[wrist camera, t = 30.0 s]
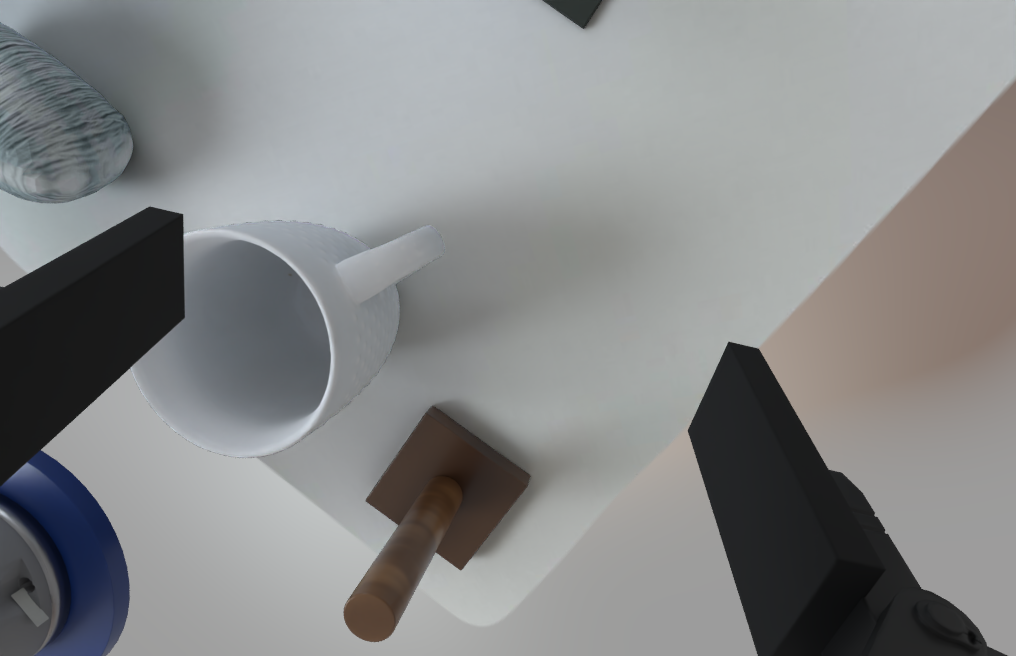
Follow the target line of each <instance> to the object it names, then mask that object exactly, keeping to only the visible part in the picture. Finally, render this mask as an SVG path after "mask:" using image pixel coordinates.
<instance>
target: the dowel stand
mask: <svg viewBox="0 0 1016 656" xmlns="http://www.w3.org/2000/svg"><path fill="white" fill-rule="evenodd" d="M530 477H531V476H530V475H529V474H527V473H526V472H524V471H523V470H522V469H520V468H519V467H517V466H516V465H515V464H513V463H512V462H510V461H509V460H508V459H506V458H505V457H504V456H502V455H501V454H499V453H498V452H497V451H495V450H494V449H492V448H491V447H490V446H488V445H487V444H486V443H484V442H483V441H481V440H480V439H479V438H477V437H476V436H474V435H473V434H472V433H470V432H469V431H468V430H466V429H465V428H463V427H462V426H461V425H459V424H458V423H456V422H455V421H454V420H452V419H451V418H450V417H448V416H447V415H445V414H444V413H443V412H441V411H440V410H438V409H437V408H436V407H434V406H432V407H431V408H430V409H429V410H428V411H427V412H426V413H425V415H424V416H423V418H422V419H421V421H420V422H419V424H418V425H417V426H416V428H415V429H414V431H413V432H412V434H411V435H410V437H409V438H408V440H407V441H406V442H405V444H404V445H403V447H402V448H401V450H400V451H399V453H398V454H397V455H396V457H395V458H394V460H393V461H392V463H391V464H390V466H389V467H388V468H387V470H386V471H385V473H384V474H383V476H382V477H381V479H380V480H379V481H378V483H377V484H376V486H375V487H374V489H373V490H372V492H371V493H370V494H369V496H368V497H367V499H366V502H367V503H369V504H370V505H372V506H373V507H374V508H376V509H377V510H378V511H380V512H381V513H383V514H384V515H385V516H387V517H388V518H389V519H391V520H392V521H394V522H395V523H396V524H398V527H397V528H396V530H395V531H394V533H393V534H392V536H391V537H390V539H389V540H388V542H387V543H386V545H385V546H384V548H383V549H382V551H381V552H380V553H379V555H378V556H377V558H376V560H375V561H374V562H373V564H372V565H371V567H370V568H369V570H368V571H367V573H366V574H365V576H364V577H363V579H362V580H361V582H360V583H359V584H358V586H357V587H356V589H355V590H354V592H353V594H352V595H351V596H350V598H349V599H348V601H347V603H346V604H345V607H344V619H345V623H346V625H347V626H348V628H349V629H350V631H351V632H352V633H353V634H355V635H356V636H357V637H359V638H361V639H363V640H365V641H370V642H379V641H382V640H385V639H386V638H388V637H389V636H390V635H391V634H392V633H393V631H394V630H395V628H396V626H397V624H398V622H399V620H400V618H401V616H402V614H403V613H404V611H405V609H406V607H407V605H408V603H409V601H410V599H411V598H412V596H413V594H414V592H415V590H416V588H417V586H418V584H419V582H420V581H421V579H422V577H423V575H424V573H425V571H426V569H427V567H428V565H429V564H430V562H431V560H432V558H433V556H434V554H435V552H436V553H437V554H439V555H440V556H442V557H443V558H444V559H446V560H447V561H448V562H450V563H451V564H453V565H454V566H455V567H457V568H458V569H459V570H462V569H463V568H464V566H465V565H466V564H467V563H468V561H469V560H470V559H471V558H472V556H473V555H474V554H475V552H476V551H477V550H478V549H479V547H480V546H481V545H482V544H483V542H484V541H485V540H486V538H487V537H488V536H489V535H490V533H491V532H492V531H493V530H494V528H495V527H496V526H497V524H498V523H499V522H500V521H501V519H502V518H503V517H504V516H505V514H506V513H507V512H508V511H509V509H510V508H511V507H512V505H513V504H514V503H515V502H516V500H517V499H518V498H519V497H520V495H521V494H522V493H523V491H524V490H525V489H526V488H527V486H528V483H529V480H530Z"/></svg>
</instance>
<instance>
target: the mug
mask: <svg viewBox="0 0 1016 656" xmlns="http://www.w3.org/2000/svg"><path fill="white" fill-rule="evenodd" d="M444 253H445V245H444V242H443V240H442V237H441V235H440V234H439V232H438V231H437V230H436V229H435V228H434V227H433V226H430V225H427V226H424V227H421V228H419V229H417V230H415V231H412V232H410V233H408V234H406V235H403V236H401V237H399V238H397V239H395V240H392V241H390V242H388V243H386V244H383V245H380V246H378V247H375V248H373V249H370V248H369V247H368V246H367V245H366V244H365V243H362V242H360V241H359V240H358V239H357V238H355V237H352V236H350V235H348V234H347V233H346V232H343V231H338V230H337V229H335V228H330V227H326V226H324V225H322V224H312V223H309V222H297V221H282V220H277V221H273V222H271V221H261V222H256V223H251V222H246V223H243V224H231V225H228V226H222V227H214V228H207V229H200V230H196V231H192V232H188V233H185V234H184V291H185V318H184V319H183V320H182V321H181V322H180V323H179V324H178V325H177V326H175V327H174V328H173V329H172V330H171V331H170V332H169V333H168V334H167V335H166V336H164V337H163V338H162V339H161V340H160V341H159V342H158V343H157V344H156V345H155V346H154V347H152V348H151V349H150V350H149V351H148V352H147V353H146V354H145V355H144V356H143V357H142V358H140V359H139V360H138V361H137V362H136V363H135V364H134V365H133V366H132V367H131V368H130V369H131V372H132V374H133V377H134V379H135V381H136V383H137V385H138V387H139V389H140V391H141V393H142V394H143V396H144V397H145V399H146V400H147V402H148V403H149V404H150V406H151V407H152V409H153V410H154V411H155V412H156V413H157V414H158V416H159V417H160V418H161V419H162V420H163V421H164V422H165V423H166V424H167V425H168V426H169V427H171V428H172V429H173V430H174V431H175V432H176V433H178V434H179V435H181V436H182V437H183V438H185V439H186V440H188V441H190V442H191V443H193V444H195V445H196V446H199V447H200V448H203V449H206V450H208V451H210V452H214V453H217V454H220V455H224V456H230V457H237V458H254V457H262V456H268V455H271V454H275V453H278V452H281V451H283V450H285V449H288V448H290V447H291V446H293V445H295V444H297V443H298V442H300V441H301V440H302V439H304V438H305V437H306V436H308V435H309V434H310V433H312V432H313V431H314V430H316V429H317V428H318V427H320V426H322V425H324V424H325V423H326V422H327V420H328V419H329V418H331V417H332V416H334V415H336V414H337V413H338V412H339V411H340V410H341V409H342V408H343V407H344V406H346V405H348V404H349V403H350V402H351V400H352V399H353V398H354V397H356V396H357V395H359V394H360V392H361V391H362V389H363V388H364V387H366V386H368V385H369V384H370V382H371V380H372V378H373V377H375V376H376V375H377V373H378V372H379V370H380V367H381V366H382V365H383V364H384V363H385V361H386V358H387V356H388V355H389V354H390V352H391V350H392V345H393V343H394V342H395V339H396V333H397V332H398V323H399V319H400V315H399V313H400V304H399V295H398V291H397V288H396V284H397V283H399V282H400V281H402V280H403V279H405V278H406V277H408V276H409V275H411V274H413V273H414V272H416V271H418V270H420V269H421V268H423V267H424V266H425V265H427V264H428V263H430V262H432V261H434V260H436V259H437V258H439V257H441V256H442V255H443V254H444Z"/></svg>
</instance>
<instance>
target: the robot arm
mask: <svg viewBox="0 0 1016 656" xmlns="http://www.w3.org/2000/svg"><path fill="white" fill-rule="evenodd" d="M184 318H185V291H184V232H183V214H179V213H175V212H171V211H167V210H162V209H158V208H154V207H148V208H146V209H144V210H143V211H141V212H139V213H137V214H135V215H134V216H132V217H130V218H128V219H126V220H125V221H123V222H121V223H119V224H117V225H116V226H114V227H112V228H110V229H108V230H107V231H105V232H103V233H101V234H99V235H98V236H96V237H94V238H92V239H90V240H89V241H87V242H85V243H83V244H81V245H80V246H78V247H76V248H74V249H72V250H71V251H69V252H67V253H65V254H63V255H62V256H60V257H58V258H56V259H54V260H53V261H51V262H49V263H47V264H45V265H44V266H42V267H40V268H38V269H36V270H35V271H33V272H31V273H29V274H27V275H26V276H24V277H22V278H20V279H18V280H17V281H15V282H13V283H11V284H9V285H8V286H6V287H0V487H1V486H2V485H3V484H4V483H5V482H6V481H7V480H8V479H9V478H10V477H12V476H13V475H14V474H15V473H16V472H17V471H18V470H19V469H20V468H21V467H22V466H24V465H25V464H26V463H27V462H28V461H29V460H30V459H31V458H32V457H33V456H34V455H36V454H37V453H38V452H39V451H40V450H41V449H42V448H43V447H44V446H45V445H47V443H49V442H50V441H51V440H52V439H53V438H54V437H55V436H56V435H57V434H58V433H60V432H61V431H62V430H63V429H64V428H65V427H66V426H67V425H68V424H69V423H71V422H72V421H73V420H74V419H75V418H76V417H77V416H78V415H79V414H80V413H81V412H82V411H84V410H85V409H86V408H87V407H88V406H89V405H90V404H91V403H92V402H93V401H95V400H96V399H97V398H98V397H99V396H100V395H101V394H102V393H103V392H104V391H105V390H106V389H108V388H109V387H110V386H111V385H112V384H113V383H114V382H115V381H116V380H117V379H119V378H120V377H121V376H122V375H123V374H124V373H125V372H126V371H127V370H128V369H130V368H131V367H132V366H133V365H134V364H135V363H136V362H137V361H138V360H139V359H140V358H142V357H143V356H144V355H145V354H146V353H147V352H148V351H149V350H150V349H151V348H152V347H154V346H155V345H156V344H157V343H158V342H159V341H160V340H161V339H162V338H163V337H164V336H166V335H167V334H168V333H169V332H170V331H171V330H172V329H173V328H174V327H175V326H177V325H178V324H179V323H180V322H181V321H182V320H183V319H184ZM688 433H689V436H690V439H691V442H692V445H693V449H694V452H695V455H696V458H697V462H698V465H699V468H700V471H701V474H702V478H703V481H704V484H705V487H706V490H707V494H708V497H709V500H710V503H711V507H712V510H713V513H714V516H715V519H716V523H717V526H718V529H719V532H720V535H721V538H722V542H723V545H724V548H725V551H726V554H727V558H728V561H729V564H730V568H731V571H732V574H733V577H734V580H735V583H736V587H737V590H738V593H739V596H740V600H741V603H742V606H743V609H744V612H745V616H746V619H747V622H748V625H749V629H750V632H751V635H752V638H753V641H754V645H755V648H756V651H757V654H758V656H1007V655H1005V654H1003V653H1001V652H998V651H996V650H994V649H992V648H989V647H987V644H986V642H985V640H984V638H983V636H982V634H981V633H980V631H979V629H978V628H977V627H976V626H975V625H974V624H973V622H972V621H971V620H970V619H969V618H968V617H967V616H966V615H965V614H964V613H963V612H962V611H960V610H959V609H958V608H957V607H955V606H954V605H953V604H951V603H950V602H949V601H947V600H945V599H943V598H942V597H940V596H938V595H936V594H934V593H932V592H930V591H927V590H923V589H921V587H920V585H919V584H918V582H917V581H916V579H915V577H914V576H913V574H912V572H911V571H910V569H909V568H908V566H907V564H906V563H905V561H904V559H903V558H902V556H901V555H900V553H899V551H898V550H897V548H896V547H895V545H894V543H893V542H892V540H891V538H890V537H889V535H888V534H885V529H884V527H883V525H882V524H881V522H880V521H879V519H878V517H875V516H874V514H875V512H874V511H873V509H872V508H871V506H870V504H869V503H868V501H867V500H866V498H865V496H864V495H863V493H862V492H861V491H860V490H859V489H858V488H857V487H856V486H855V485H854V484H853V483H852V482H851V481H850V480H849V479H848V478H847V477H846V476H845V475H844V474H843V473H841V472H835V471H831V470H828V468H827V466H826V465H825V463H824V461H823V459H822V458H821V456H820V454H819V452H818V451H817V449H816V447H815V445H814V444H813V442H812V440H811V438H810V437H809V435H808V433H807V432H806V430H805V428H804V426H803V425H802V423H801V421H800V419H799V418H798V416H797V415H796V412H795V411H794V409H793V407H792V406H791V404H790V402H789V400H788V399H787V397H786V395H785V393H784V392H783V390H782V388H781V386H780V385H779V383H778V381H777V380H776V378H775V376H774V374H773V373H772V371H771V369H770V367H769V366H768V364H767V362H766V361H765V359H764V357H763V355H762V353H761V352H760V350H759V349H758V348H753V347H749V346H745V345H740V344H736V343H732V342H728V344H727V346H726V349H725V351H724V353H723V355H722V357H721V359H720V362H719V364H718V366H717V368H716V370H715V372H714V375H713V377H712V379H711V381H710V383H709V386H708V388H707V390H706V392H705V394H704V396H703V399H702V401H701V403H700V405H699V407H698V409H697V412H696V414H695V416H694V418H693V420H692V423H691V425H690V427H689V429H688ZM70 602H71V590H70V582H69V577H68V573H67V570H66V566H65V564H64V561H63V559H62V556H61V554H60V552H59V550H58V548H57V547H56V545H55V543H54V541H53V540H52V538H51V537H50V535H49V534H48V533H47V531H46V530H45V529H44V528H43V526H42V525H41V524H40V523H39V522H38V521H37V520H36V519H35V518H34V517H33V516H32V515H31V514H30V513H29V512H28V511H27V510H25V509H24V508H23V507H22V506H20V505H19V504H17V503H16V502H14V501H13V500H11V499H9V498H8V497H6V496H4V495H2V494H0V656H34V655H35V654H37V653H38V652H39V651H40V650H42V649H43V648H44V647H45V646H47V645H48V644H49V643H50V642H52V641H53V640H54V639H55V638H56V637H57V636H58V634H59V633H60V632H61V630H62V629H63V627H64V625H65V623H66V621H67V618H68V615H69V610H70Z"/></svg>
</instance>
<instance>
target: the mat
mask: <svg viewBox="0 0 1016 656" xmlns="http://www.w3.org/2000/svg"><path fill="white" fill-rule="evenodd" d="M543 1H544V2H546V3H547V4H549V5H550V6H551V7H553V8H554V9H556V10H557V11H559V12H560V13H561V14H563V15H564V16H566V17H567V18H569V19H570V20H571V21H573V22H574V23H576V24H577V25H579V26H580V27H581V28H583V29H584V28H585V26H586V25H587V23H588V22H589V20H590V19H591V17H592V15H593V14H594V12H595V11H596V9H597V8H598V6H599V5H600V3H601V1H602V0H543Z"/></svg>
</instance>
